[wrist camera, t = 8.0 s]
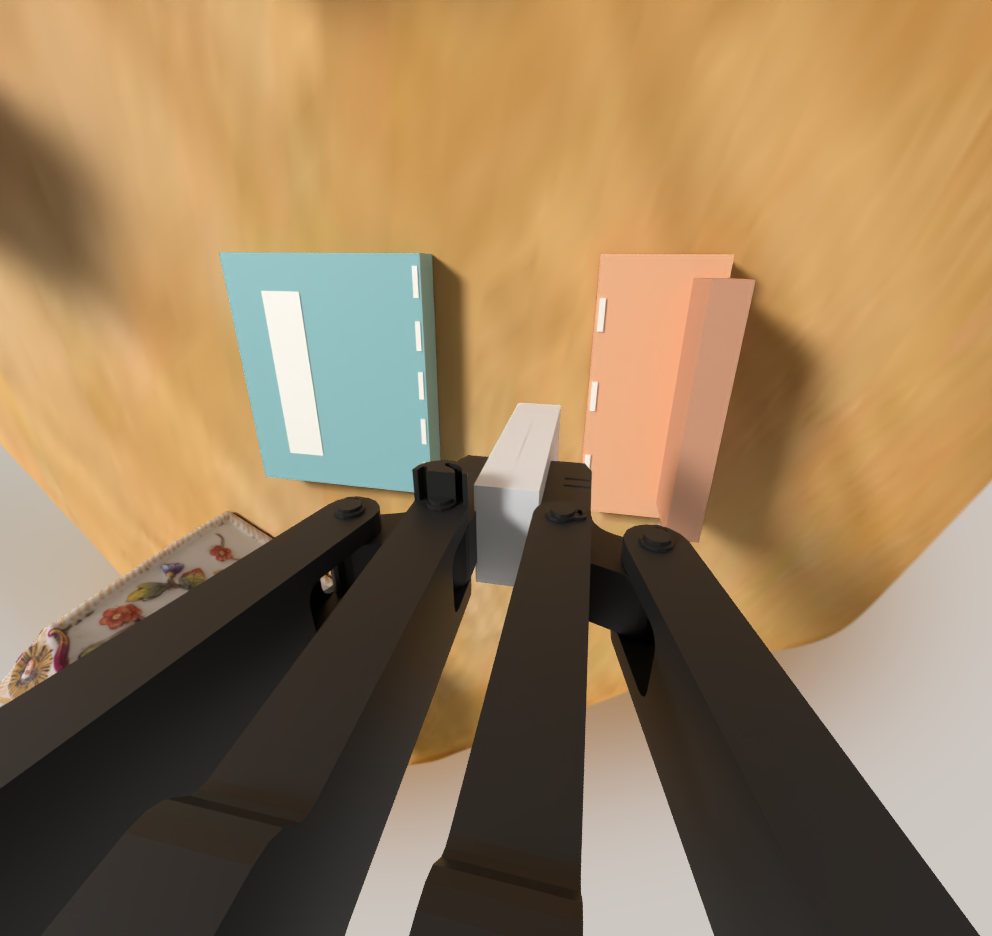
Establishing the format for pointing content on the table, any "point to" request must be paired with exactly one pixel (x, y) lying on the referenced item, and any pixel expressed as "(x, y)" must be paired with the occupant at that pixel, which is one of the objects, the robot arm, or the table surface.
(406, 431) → the ticket
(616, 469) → the stub
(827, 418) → the table surface
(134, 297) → the table surface
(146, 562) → the decorative jar
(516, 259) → the table surface
